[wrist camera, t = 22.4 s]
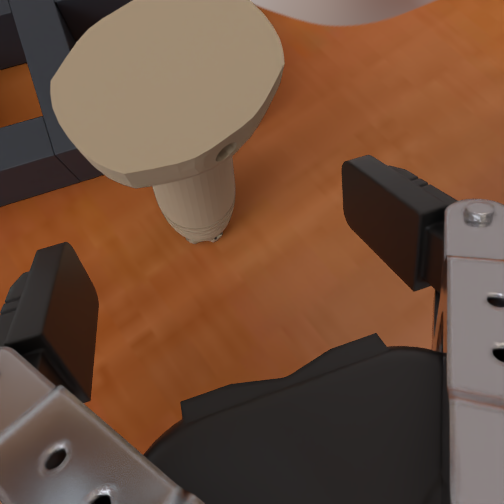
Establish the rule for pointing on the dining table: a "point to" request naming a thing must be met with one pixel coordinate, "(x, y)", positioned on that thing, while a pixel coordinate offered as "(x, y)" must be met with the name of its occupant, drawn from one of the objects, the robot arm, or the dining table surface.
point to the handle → (171, 101)
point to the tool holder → (43, 93)
